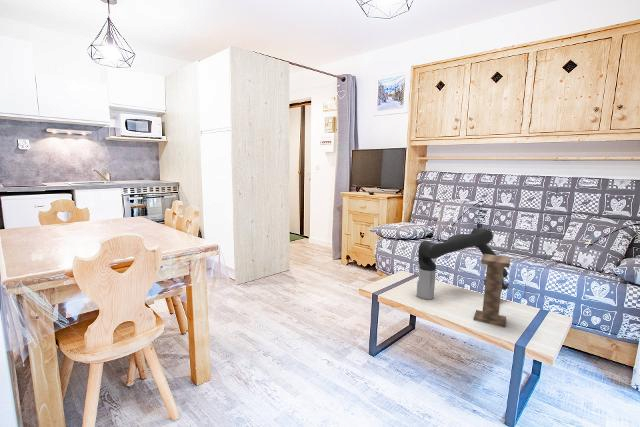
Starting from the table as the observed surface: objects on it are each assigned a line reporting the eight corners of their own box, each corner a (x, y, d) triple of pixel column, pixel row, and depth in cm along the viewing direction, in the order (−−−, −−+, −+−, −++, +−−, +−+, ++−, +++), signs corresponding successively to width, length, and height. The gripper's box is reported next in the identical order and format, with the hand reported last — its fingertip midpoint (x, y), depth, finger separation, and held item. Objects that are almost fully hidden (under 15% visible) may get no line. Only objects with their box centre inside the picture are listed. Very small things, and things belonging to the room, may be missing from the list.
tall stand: (473, 320, 164) (479, 259, 160) (476, 311, 175) (481, 253, 171) (505, 328, 157) (512, 264, 152) (506, 318, 168) (512, 257, 163)
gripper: (484, 272, 205) (481, 279, 190) (510, 276, 197) (509, 284, 183) (483, 283, 206) (480, 292, 191) (509, 288, 198) (508, 297, 184)
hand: (494, 288), depth 187 cm, fingers closed on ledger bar, 4 cm apart
